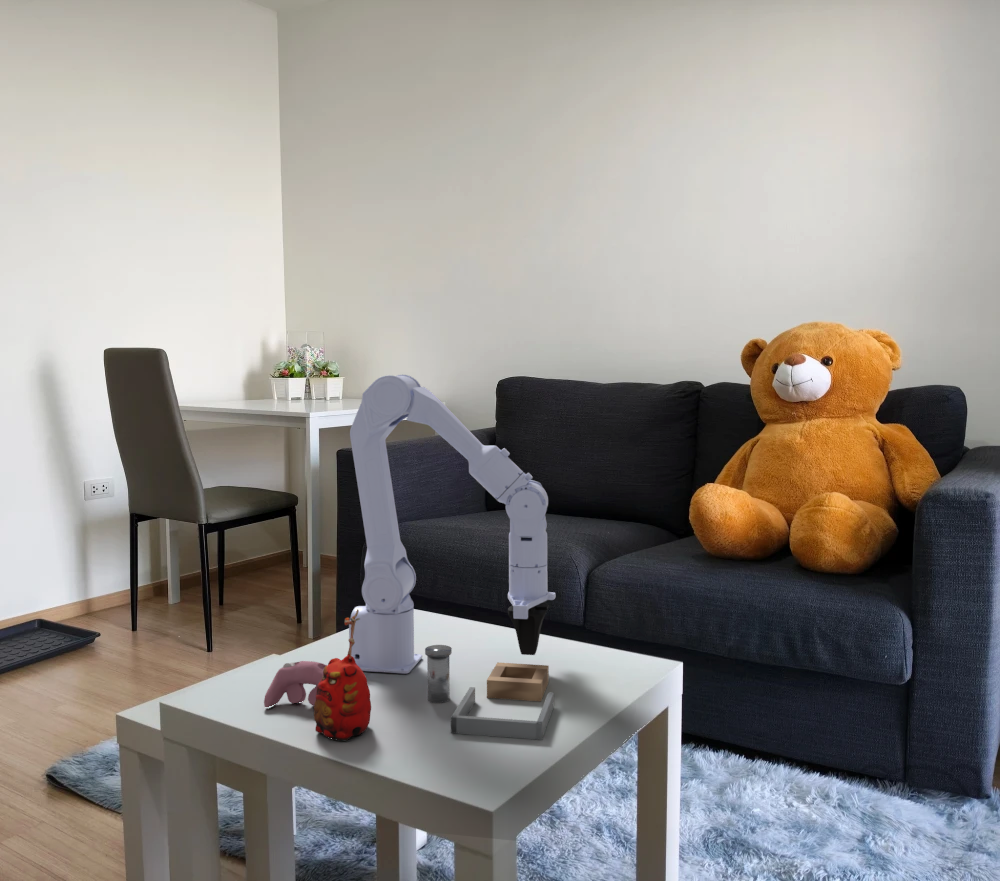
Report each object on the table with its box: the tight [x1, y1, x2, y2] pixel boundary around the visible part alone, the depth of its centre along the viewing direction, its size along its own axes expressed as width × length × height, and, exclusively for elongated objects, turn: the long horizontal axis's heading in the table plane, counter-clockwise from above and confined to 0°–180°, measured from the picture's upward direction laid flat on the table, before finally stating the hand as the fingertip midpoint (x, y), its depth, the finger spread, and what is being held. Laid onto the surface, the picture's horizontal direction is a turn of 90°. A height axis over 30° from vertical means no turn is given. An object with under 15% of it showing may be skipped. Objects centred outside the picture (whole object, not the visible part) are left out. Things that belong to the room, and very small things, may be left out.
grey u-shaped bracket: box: [450, 686, 555, 741], centre depth 116 cm, size 11×11×2 cm
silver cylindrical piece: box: [424, 644, 453, 704], centre depth 123 cm, size 4×4×7 cm
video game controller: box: [263, 660, 328, 708], centre depth 121 cm, size 10×5×7 cm, turn 72°
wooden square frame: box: [486, 662, 550, 702], centre depth 126 cm, size 8×8×2 cm
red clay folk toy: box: [313, 609, 372, 742], centre depth 112 cm, size 8×7×15 cm
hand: (528, 653), depth 135 cm, fingers closed
